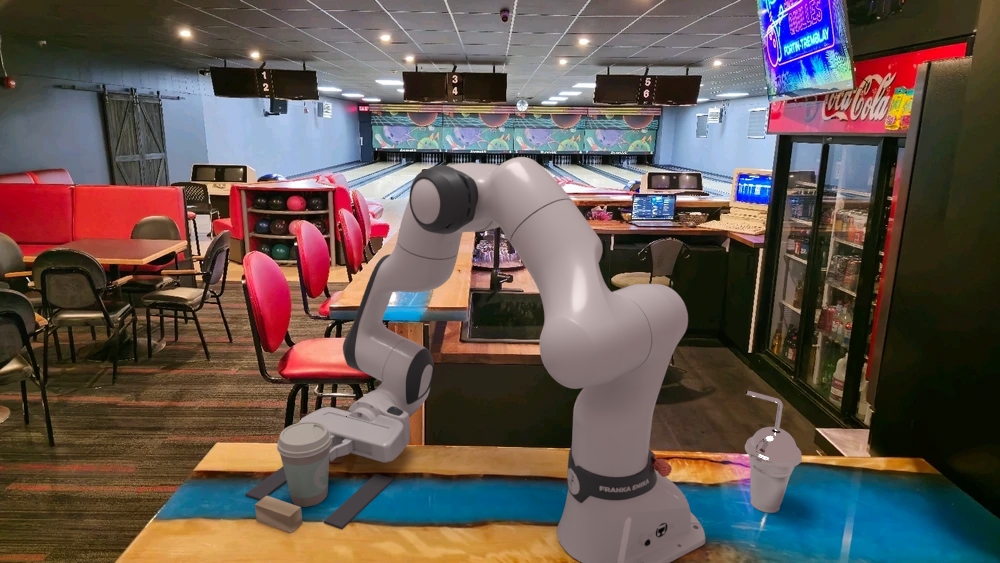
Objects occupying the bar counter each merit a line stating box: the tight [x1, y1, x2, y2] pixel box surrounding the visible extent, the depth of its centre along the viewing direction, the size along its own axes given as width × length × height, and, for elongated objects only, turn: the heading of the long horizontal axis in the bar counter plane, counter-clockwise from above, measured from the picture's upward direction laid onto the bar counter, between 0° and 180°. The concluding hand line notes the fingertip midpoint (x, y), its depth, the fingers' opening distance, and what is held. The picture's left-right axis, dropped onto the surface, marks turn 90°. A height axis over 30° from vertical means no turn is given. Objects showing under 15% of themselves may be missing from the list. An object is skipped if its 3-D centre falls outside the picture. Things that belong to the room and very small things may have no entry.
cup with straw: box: [744, 390, 803, 514], centre depth 100 cm, size 8×9×20 cm
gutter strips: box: [245, 466, 394, 530], centre depth 106 cm, size 14×20×1 cm
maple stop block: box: [254, 495, 303, 534], centre depth 97 cm, size 2×7×3 cm, turn 65°
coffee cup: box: [276, 421, 332, 508], centre depth 102 cm, size 8×8×12 cm
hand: (323, 455), depth 106 cm, fingers closed, pressing on coffee cup
